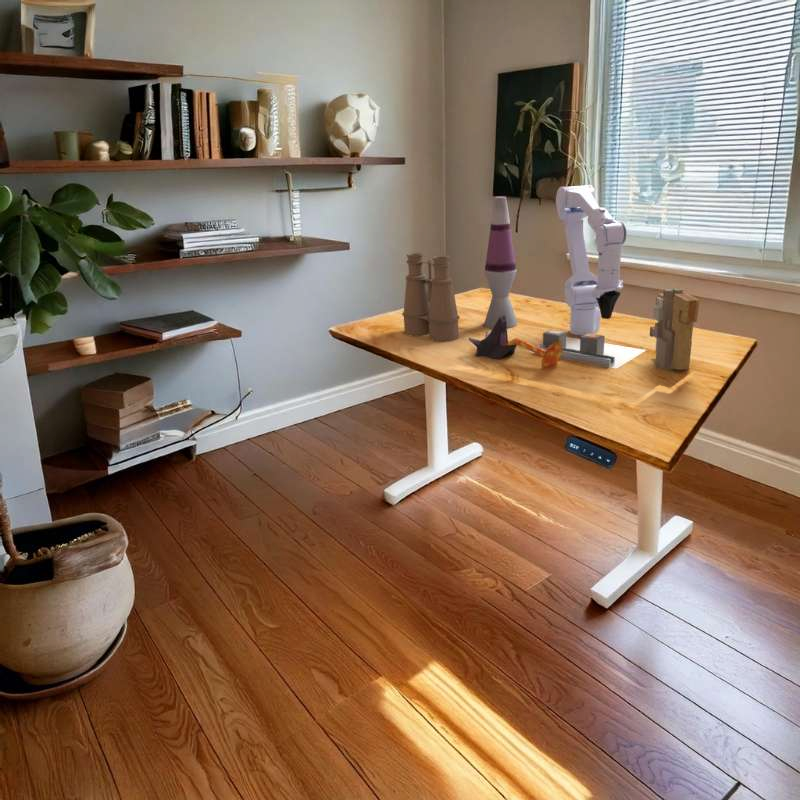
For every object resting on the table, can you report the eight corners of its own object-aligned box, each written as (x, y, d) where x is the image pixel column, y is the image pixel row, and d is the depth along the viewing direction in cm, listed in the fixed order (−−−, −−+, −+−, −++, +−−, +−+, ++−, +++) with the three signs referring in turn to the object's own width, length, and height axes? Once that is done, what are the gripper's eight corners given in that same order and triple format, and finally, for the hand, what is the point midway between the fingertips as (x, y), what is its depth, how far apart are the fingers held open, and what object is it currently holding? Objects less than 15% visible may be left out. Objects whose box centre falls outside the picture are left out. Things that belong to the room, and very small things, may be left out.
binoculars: (466, 336, 213) (464, 255, 204) (445, 344, 207) (442, 261, 198) (417, 326, 227) (414, 250, 218) (396, 333, 221) (392, 255, 211)
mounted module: (550, 346, 195) (550, 328, 193) (565, 349, 192) (566, 331, 190) (542, 350, 192) (543, 332, 190) (558, 353, 189) (559, 335, 187)
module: (587, 350, 190) (587, 332, 188) (603, 353, 187) (604, 335, 185) (579, 354, 187) (580, 335, 185) (596, 357, 184) (597, 338, 182)
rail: (540, 350, 192) (540, 343, 192) (614, 364, 178) (614, 356, 178) (534, 353, 190) (535, 346, 190) (609, 367, 176) (609, 359, 176)
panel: (561, 339, 204) (561, 335, 204) (646, 354, 188) (646, 350, 187) (528, 356, 192) (528, 351, 192) (616, 373, 176) (616, 368, 175)
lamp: (478, 322, 227) (476, 197, 212) (508, 318, 230) (508, 194, 215) (492, 330, 217) (491, 199, 203) (523, 326, 220) (524, 196, 205)
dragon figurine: (543, 346, 172) (469, 310, 187) (533, 388, 179) (463, 350, 193) (567, 336, 179) (494, 302, 194) (557, 377, 185) (487, 341, 200)
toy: (669, 358, 184) (676, 284, 177) (697, 379, 168) (706, 299, 161) (645, 359, 184) (651, 285, 176) (671, 381, 168) (679, 301, 161)
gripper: (610, 275, 177) (607, 326, 182) (634, 265, 187) (631, 314, 192) (585, 272, 182) (583, 322, 187) (610, 263, 191) (607, 310, 196)
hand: (606, 318), depth 190 cm, fingers closed
